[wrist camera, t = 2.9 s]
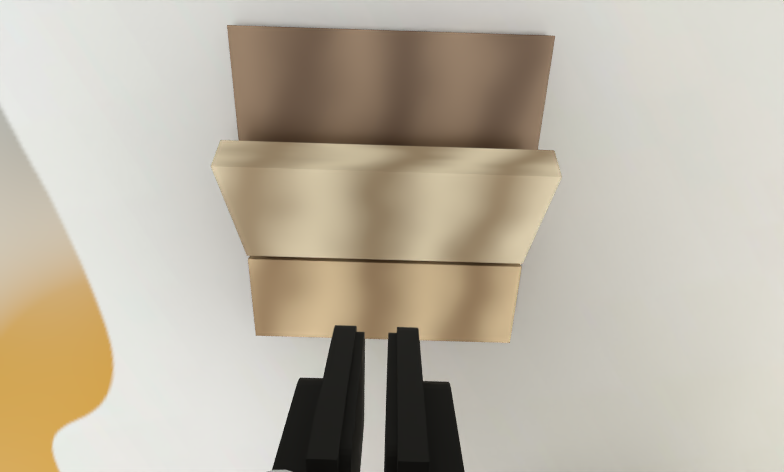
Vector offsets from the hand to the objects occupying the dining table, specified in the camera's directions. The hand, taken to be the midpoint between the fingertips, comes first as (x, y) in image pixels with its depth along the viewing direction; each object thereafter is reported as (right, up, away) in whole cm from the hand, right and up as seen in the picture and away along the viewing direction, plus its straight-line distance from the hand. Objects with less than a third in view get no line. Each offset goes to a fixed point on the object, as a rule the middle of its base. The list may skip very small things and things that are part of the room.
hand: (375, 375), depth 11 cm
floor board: (0, +6, +20) cm, 21 cm away
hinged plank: (0, +6, +16) cm, 17 cm away
